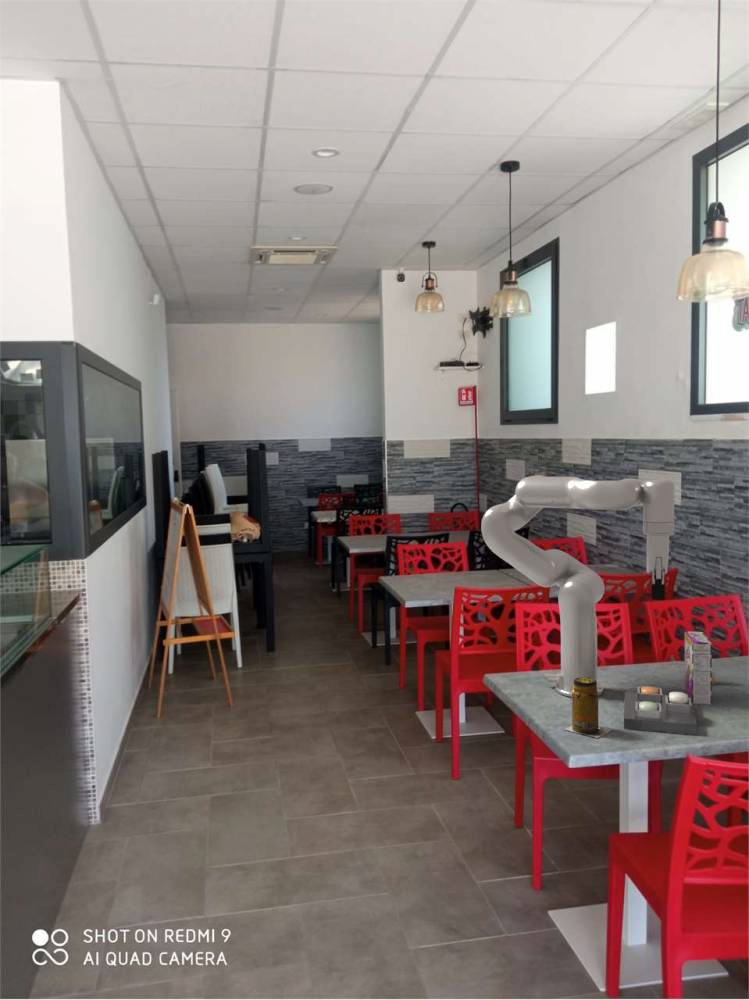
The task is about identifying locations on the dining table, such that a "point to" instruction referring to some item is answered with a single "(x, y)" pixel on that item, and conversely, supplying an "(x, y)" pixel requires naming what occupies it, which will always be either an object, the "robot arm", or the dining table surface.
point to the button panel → (658, 714)
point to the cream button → (678, 698)
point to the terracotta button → (649, 690)
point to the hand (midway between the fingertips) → (658, 599)
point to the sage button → (648, 706)
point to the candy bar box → (698, 668)
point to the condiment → (585, 708)
